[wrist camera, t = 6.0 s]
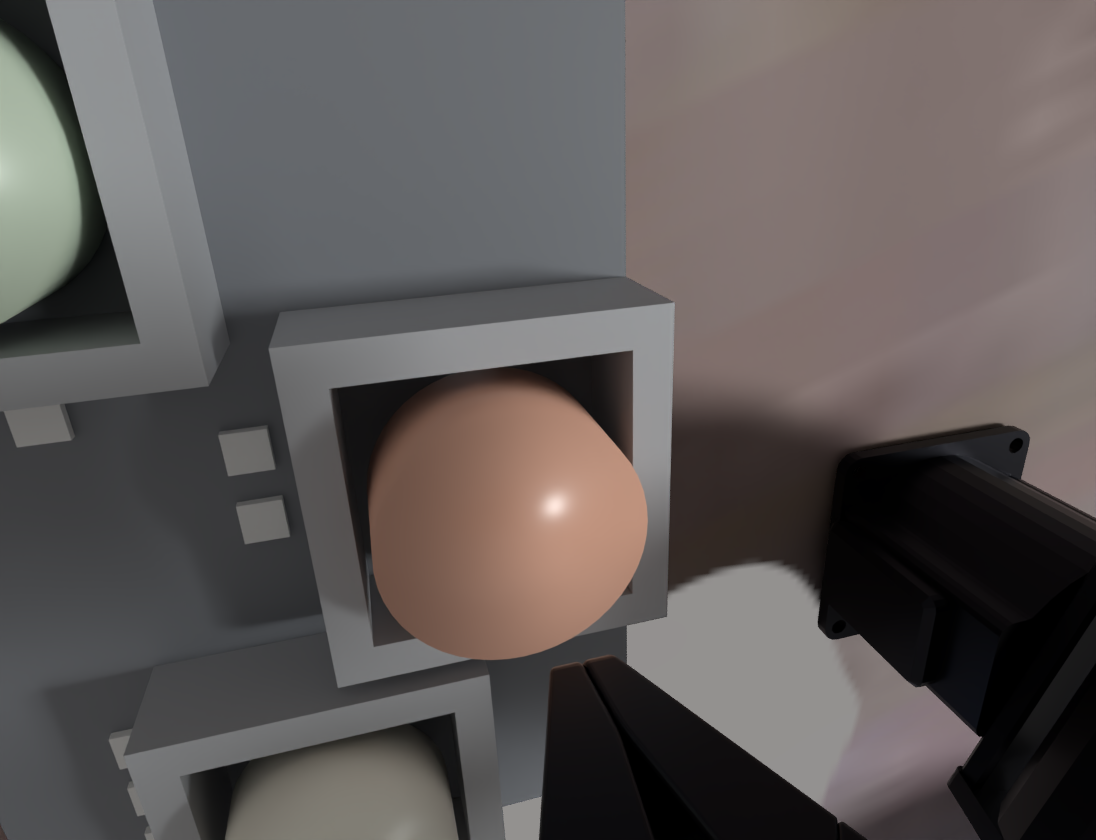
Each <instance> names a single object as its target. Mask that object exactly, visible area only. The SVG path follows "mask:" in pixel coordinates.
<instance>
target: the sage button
mask: <svg viewBox="0 0 1096 840" xmlns="http://www.w3.org/2000/svg"><path fill="white" fill-rule="evenodd" d="M107 225H108V224H107V221H106V217H105V214H104V210H103V206H102V203H101V199H100V195H99V192H98V188H97V185H96V181H95V177H94V174H93V170H92V167H91V163H90V159H89V156H88V152H87V148H86V145H85V141H84V138H83V134H82V130H81V127H80V123H79V120H78V116H77V112H76V109H75V105H74V101H73V98H72V94H71V91H70V87H69V83H68V80H67V76H66V74H65V73H64V72H63V70H62V69H61V68H60V67H59V66H58V65H57V64H56V63H55V62H54V61H53V60H52V59H51V58H50V57H49V56H48V55H47V54H46V53H45V52H44V51H43V50H42V49H41V48H39V47H38V46H37V45H36V44H35V43H34V42H32V41H31V40H30V39H29V38H28V37H26V36H25V35H24V34H23V33H21V32H20V31H18V30H17V29H15V28H14V27H12V26H11V25H9V24H8V23H6V22H5V21H4V20H2V19H0V324H1V323H3V322H5V321H6V320H8V319H10V318H12V317H13V316H15V315H17V314H18V313H20V312H22V311H23V310H25V309H27V308H29V307H30V306H32V305H34V304H35V303H37V302H39V301H41V300H42V299H44V298H46V297H47V296H49V295H51V294H52V293H54V292H56V291H57V290H59V289H60V288H62V287H64V286H65V285H66V284H67V283H69V282H70V281H71V280H72V279H73V278H75V277H76V276H77V275H78V274H79V273H80V272H81V271H82V270H83V268H84V267H85V266H86V265H87V264H88V263H89V261H90V260H91V259H92V257H93V255H94V254H95V252H96V250H97V249H98V247H99V246H100V243H101V241H102V239H103V236H104V234H105V231H106V229H107Z"/></svg>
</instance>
